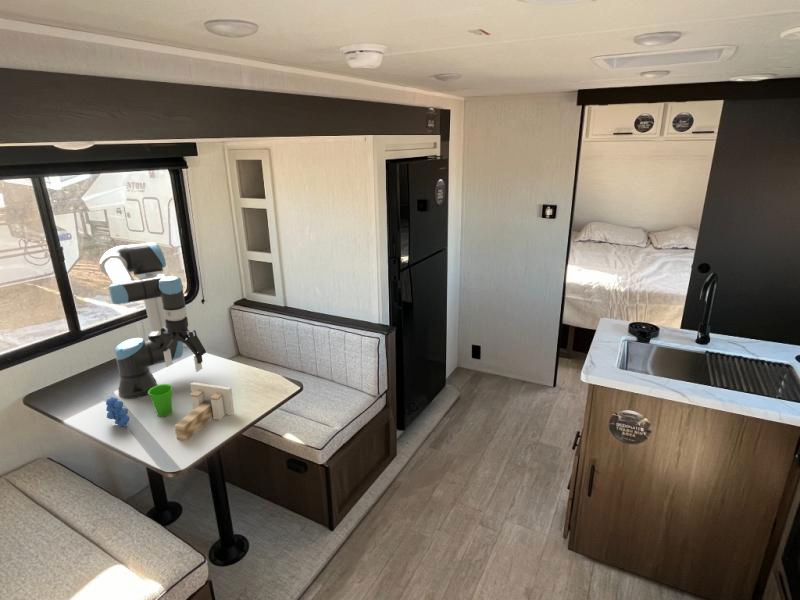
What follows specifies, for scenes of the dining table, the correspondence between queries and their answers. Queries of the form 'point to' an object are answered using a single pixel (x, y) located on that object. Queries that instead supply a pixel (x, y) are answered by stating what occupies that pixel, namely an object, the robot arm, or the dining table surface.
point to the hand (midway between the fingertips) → (184, 367)
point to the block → (194, 421)
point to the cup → (162, 398)
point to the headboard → (213, 398)
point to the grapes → (117, 411)
